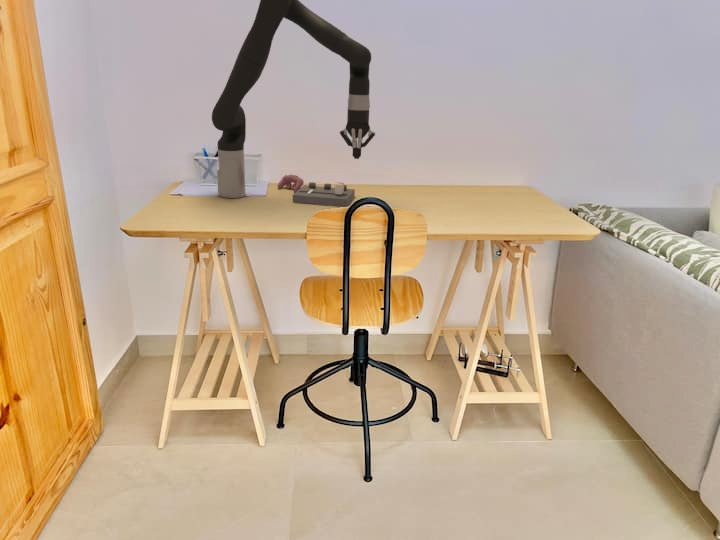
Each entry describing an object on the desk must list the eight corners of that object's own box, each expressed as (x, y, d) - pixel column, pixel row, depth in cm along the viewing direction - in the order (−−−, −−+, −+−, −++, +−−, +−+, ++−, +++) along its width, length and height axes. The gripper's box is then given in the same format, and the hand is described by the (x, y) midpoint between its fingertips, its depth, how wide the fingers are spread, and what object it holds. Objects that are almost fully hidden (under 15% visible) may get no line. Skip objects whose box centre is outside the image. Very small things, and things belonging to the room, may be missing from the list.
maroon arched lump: (301, 195, 217) (306, 178, 217) (295, 192, 213) (300, 174, 213) (282, 191, 222) (287, 174, 222) (275, 188, 218) (280, 171, 218)
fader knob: (334, 194, 201) (335, 183, 199) (337, 191, 205) (337, 181, 203) (341, 194, 200) (341, 184, 199) (343, 191, 204) (344, 181, 203)
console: (292, 202, 201) (292, 190, 199) (304, 192, 215) (304, 180, 213) (346, 206, 198) (347, 194, 196) (354, 196, 212) (354, 184, 211)
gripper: (337, 108, 188) (336, 159, 194) (375, 110, 186) (373, 161, 192) (341, 106, 195) (340, 155, 201) (378, 108, 193) (376, 157, 199)
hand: (356, 158), depth 197 cm, fingers closed
